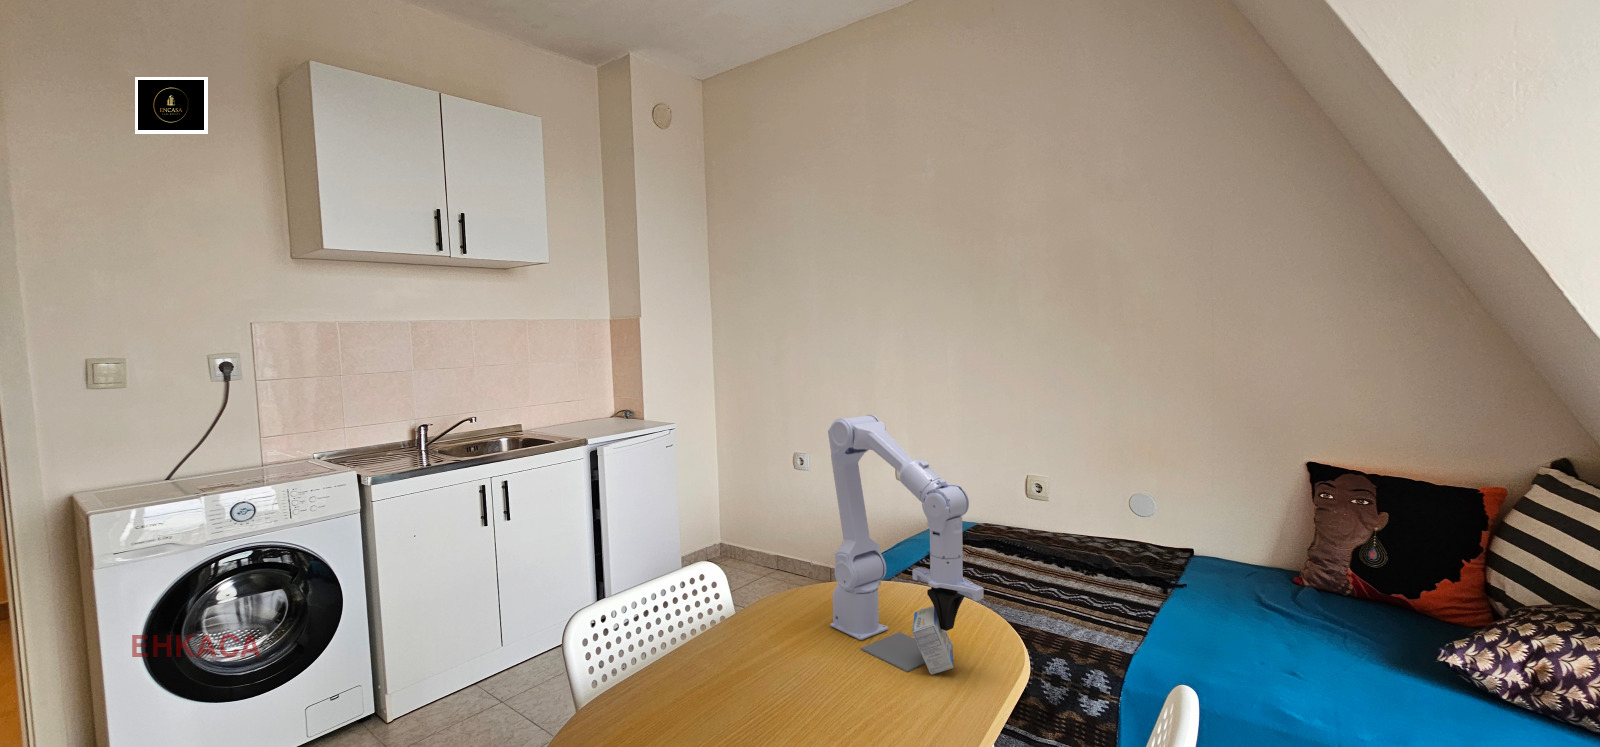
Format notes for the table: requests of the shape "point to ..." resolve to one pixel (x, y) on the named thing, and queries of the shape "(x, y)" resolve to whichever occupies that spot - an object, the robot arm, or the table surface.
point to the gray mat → (897, 651)
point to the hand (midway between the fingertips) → (947, 628)
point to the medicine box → (932, 641)
